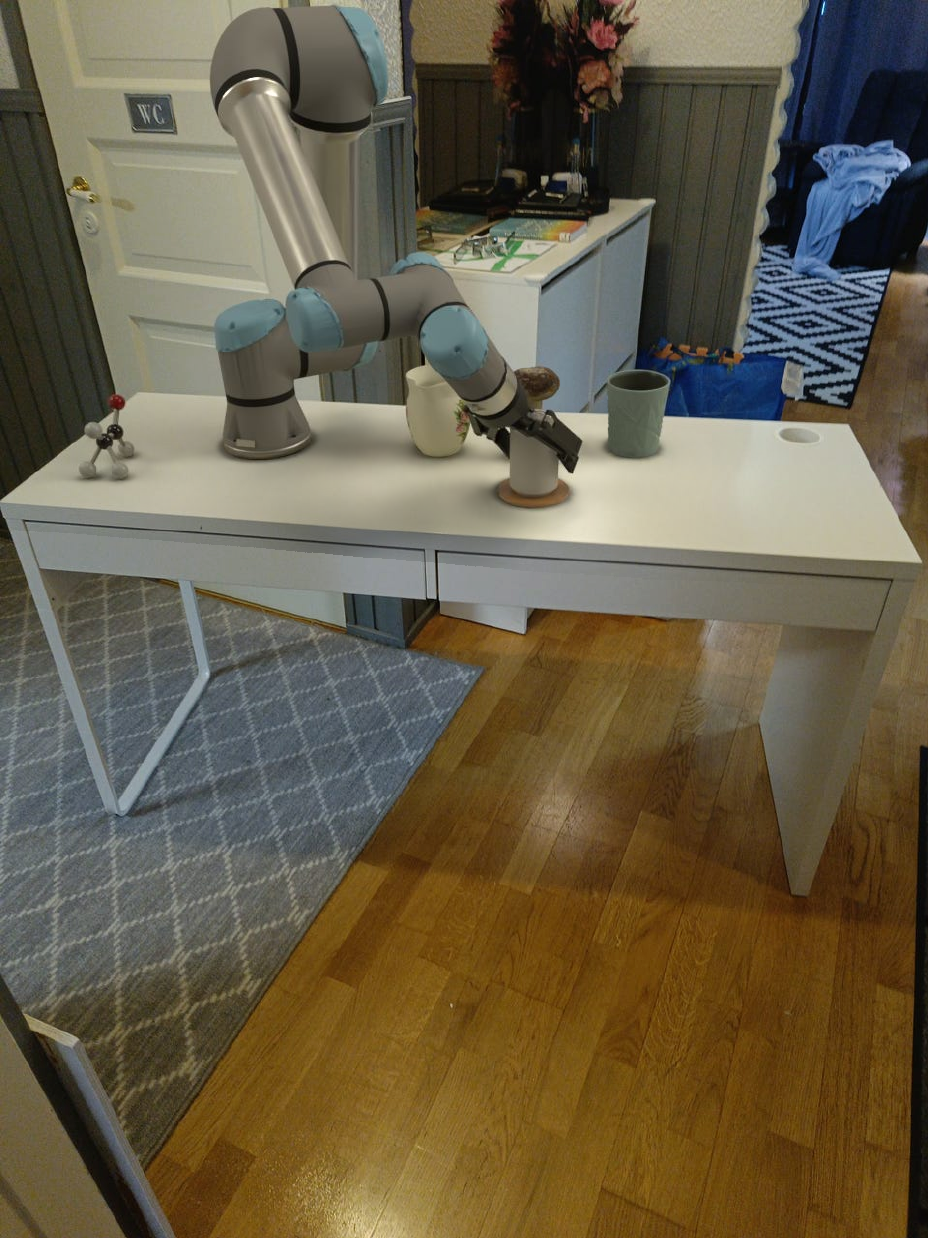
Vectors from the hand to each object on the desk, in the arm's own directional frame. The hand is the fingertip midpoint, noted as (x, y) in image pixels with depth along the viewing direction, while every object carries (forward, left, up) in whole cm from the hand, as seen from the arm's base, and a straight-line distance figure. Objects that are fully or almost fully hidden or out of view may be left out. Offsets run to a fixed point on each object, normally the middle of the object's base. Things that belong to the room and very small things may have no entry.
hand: (543, 458), depth 137 cm
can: (+2, -2, -4) cm, 5 cm away
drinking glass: (-11, +18, -5) cm, 21 cm away
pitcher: (-18, -14, -5) cm, 23 cm away
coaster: (+2, -2, -4) cm, 5 cm away
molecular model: (-21, -69, -5) cm, 72 cm away
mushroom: (-11, 0, -5) cm, 12 cm away
